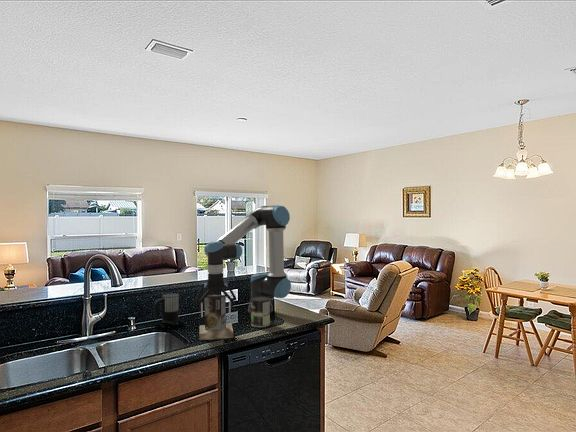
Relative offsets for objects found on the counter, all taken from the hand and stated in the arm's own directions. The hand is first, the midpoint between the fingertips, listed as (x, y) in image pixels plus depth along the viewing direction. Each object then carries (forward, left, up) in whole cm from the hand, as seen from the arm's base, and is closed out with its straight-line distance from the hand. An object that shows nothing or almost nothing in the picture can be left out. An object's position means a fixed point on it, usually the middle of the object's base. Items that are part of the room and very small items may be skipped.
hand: (216, 315), depth 183 cm
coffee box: (0, 0, -7) cm, 7 cm away
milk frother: (+23, -25, -10) cm, 36 cm away
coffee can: (-24, -11, -10) cm, 28 cm away
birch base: (0, 0, -9) cm, 9 cm away
